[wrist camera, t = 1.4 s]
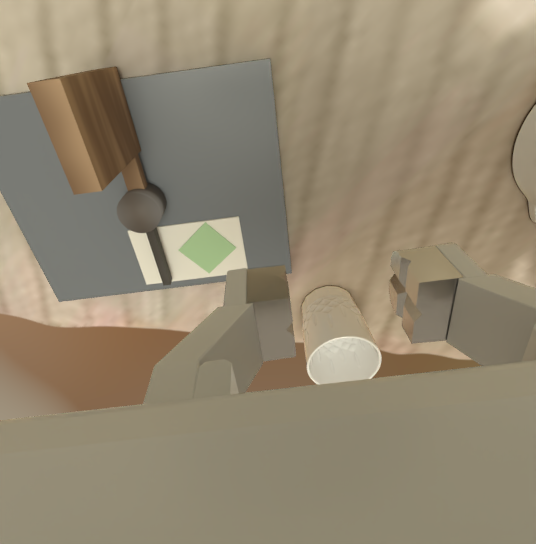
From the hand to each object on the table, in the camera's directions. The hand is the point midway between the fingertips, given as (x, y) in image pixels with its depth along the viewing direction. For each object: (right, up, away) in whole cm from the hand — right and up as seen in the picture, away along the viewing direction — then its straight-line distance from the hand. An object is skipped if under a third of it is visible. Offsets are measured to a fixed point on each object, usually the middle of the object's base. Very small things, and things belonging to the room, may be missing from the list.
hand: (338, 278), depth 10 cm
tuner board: (-14, +8, +29) cm, 33 cm away
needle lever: (-14, +9, +27) cm, 32 cm away
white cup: (+6, -4, +38) cm, 38 cm away
